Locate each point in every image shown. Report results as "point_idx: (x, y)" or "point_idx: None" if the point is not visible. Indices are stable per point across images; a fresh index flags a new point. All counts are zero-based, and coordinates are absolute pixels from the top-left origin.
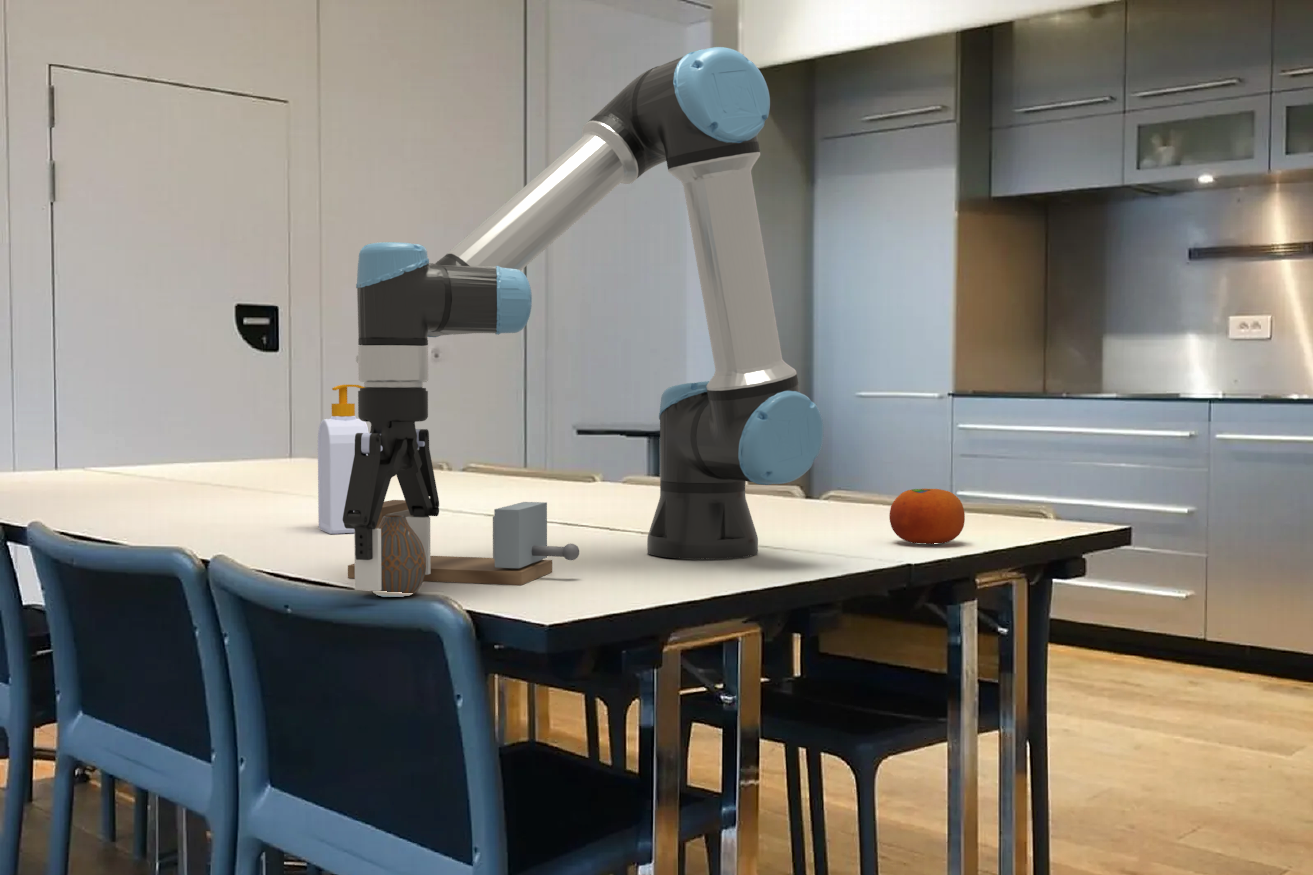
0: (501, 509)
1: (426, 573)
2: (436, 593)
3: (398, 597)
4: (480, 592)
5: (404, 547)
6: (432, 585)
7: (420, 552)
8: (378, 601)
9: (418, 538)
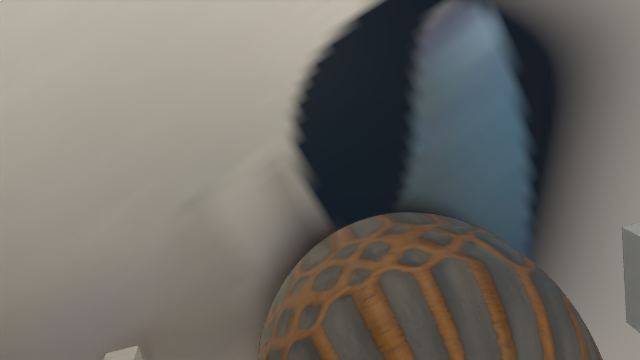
0: None
1: (138, 354)
2: (258, 189)
3: None
4: (129, 22)
5: (559, 313)
6: (77, 340)
7: (435, 264)
8: None
9: (407, 358)
